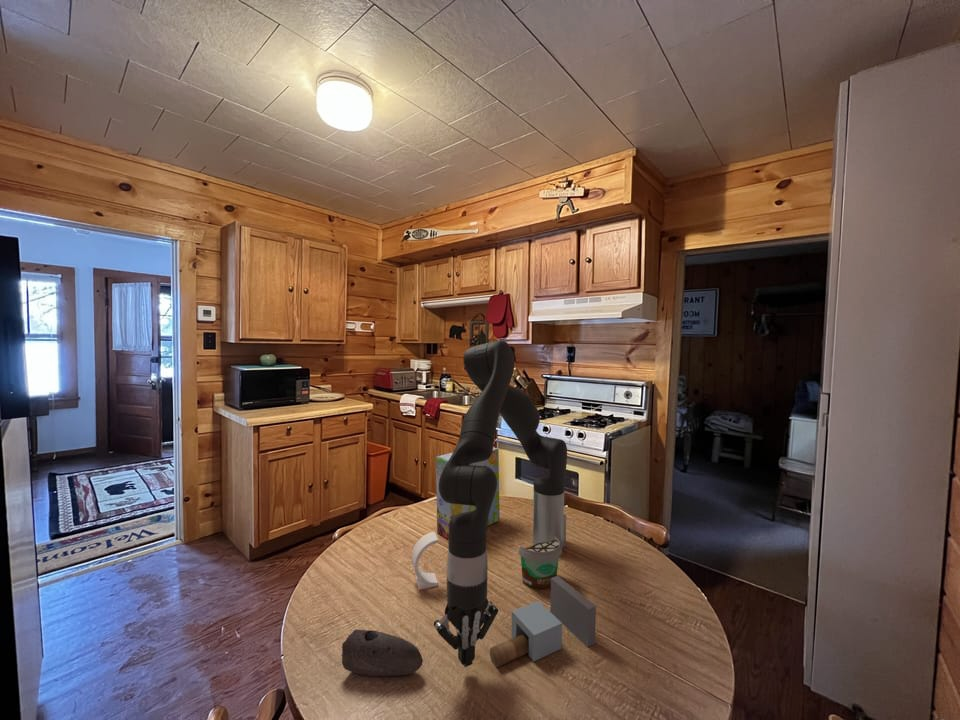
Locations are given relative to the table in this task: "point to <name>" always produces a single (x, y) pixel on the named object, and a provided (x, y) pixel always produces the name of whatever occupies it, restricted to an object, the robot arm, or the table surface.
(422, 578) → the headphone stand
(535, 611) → the block
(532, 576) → the ice cream tub
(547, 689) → the table surface
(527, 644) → the dowel
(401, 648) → the perforated stone tool
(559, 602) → the backstop wall
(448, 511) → the snack box
